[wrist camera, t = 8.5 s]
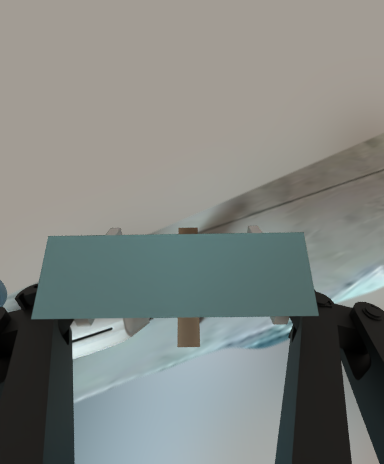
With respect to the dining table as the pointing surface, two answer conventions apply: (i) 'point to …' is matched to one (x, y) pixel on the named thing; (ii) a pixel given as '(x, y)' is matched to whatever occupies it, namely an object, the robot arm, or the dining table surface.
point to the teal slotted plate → (175, 276)
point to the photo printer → (103, 334)
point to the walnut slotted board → (188, 325)
